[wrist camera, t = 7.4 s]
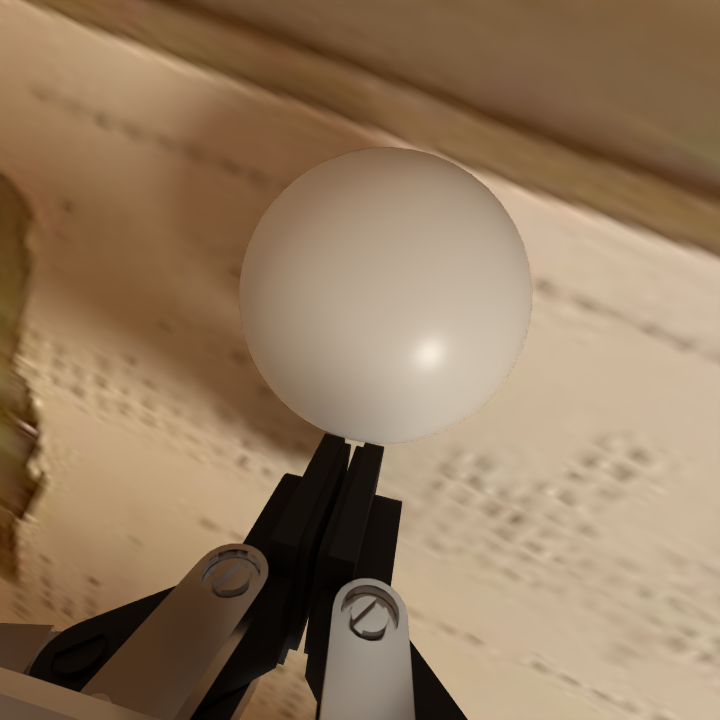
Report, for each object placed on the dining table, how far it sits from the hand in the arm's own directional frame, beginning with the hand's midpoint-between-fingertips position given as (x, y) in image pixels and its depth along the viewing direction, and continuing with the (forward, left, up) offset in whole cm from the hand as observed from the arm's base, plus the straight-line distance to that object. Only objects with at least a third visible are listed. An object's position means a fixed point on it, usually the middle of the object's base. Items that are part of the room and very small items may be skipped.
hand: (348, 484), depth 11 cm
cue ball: (+5, 0, +1) cm, 6 cm away
